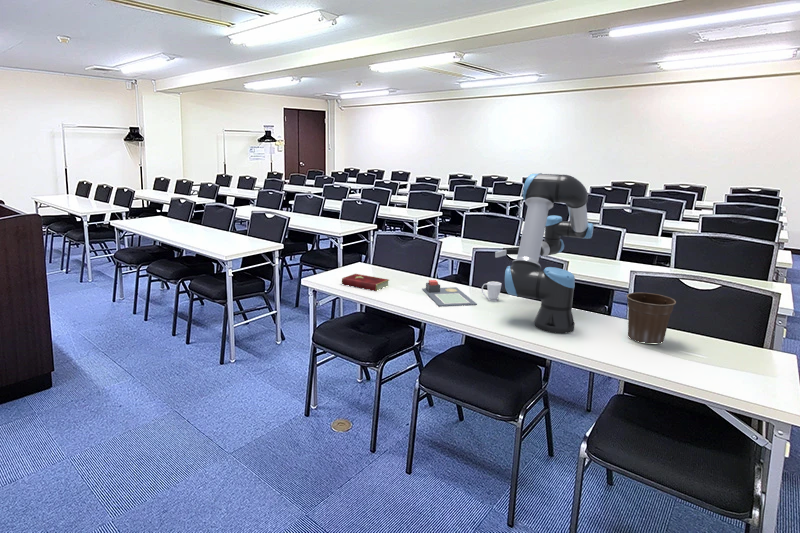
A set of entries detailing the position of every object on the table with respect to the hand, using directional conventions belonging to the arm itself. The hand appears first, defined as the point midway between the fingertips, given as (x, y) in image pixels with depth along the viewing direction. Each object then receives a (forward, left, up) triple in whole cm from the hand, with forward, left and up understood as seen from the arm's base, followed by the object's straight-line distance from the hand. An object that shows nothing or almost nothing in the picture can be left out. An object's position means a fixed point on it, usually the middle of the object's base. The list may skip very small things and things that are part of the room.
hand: (505, 258), depth 224 cm
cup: (-1, +7, -20) cm, 21 cm away
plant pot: (-58, -31, -20) cm, 69 cm away
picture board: (+5, +26, -19) cm, 32 cm away
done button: (+14, +31, -17) cm, 38 cm away
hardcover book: (+30, +61, -20) cm, 71 cm away
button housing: (+14, +31, -19) cm, 39 cm away
